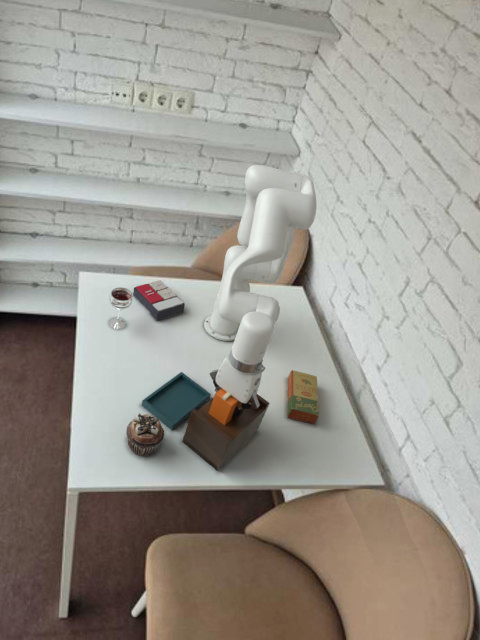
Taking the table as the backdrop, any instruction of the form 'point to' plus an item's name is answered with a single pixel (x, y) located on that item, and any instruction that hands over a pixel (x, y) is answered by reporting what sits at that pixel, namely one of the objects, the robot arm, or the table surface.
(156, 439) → the cupcake
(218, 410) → the packet
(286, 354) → the table surface
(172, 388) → the tray
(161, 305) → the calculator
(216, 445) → the shelf
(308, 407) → the carton
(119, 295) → the wineglass
